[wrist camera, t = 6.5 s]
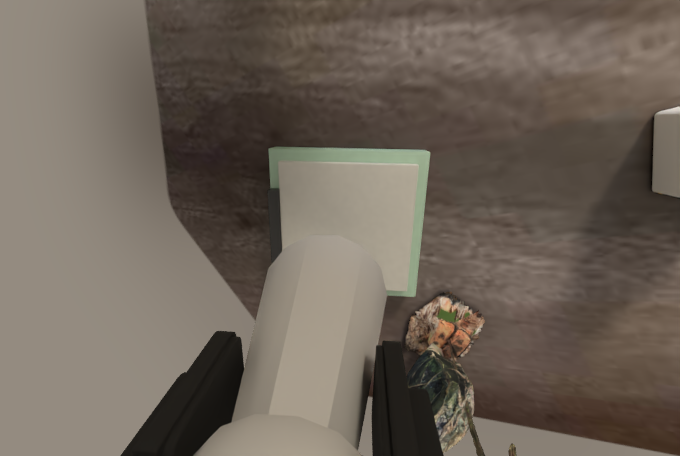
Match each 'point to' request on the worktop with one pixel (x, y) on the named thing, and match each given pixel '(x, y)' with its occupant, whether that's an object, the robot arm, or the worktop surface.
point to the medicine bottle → (666, 153)
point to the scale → (353, 203)
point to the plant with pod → (446, 365)
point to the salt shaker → (308, 355)
